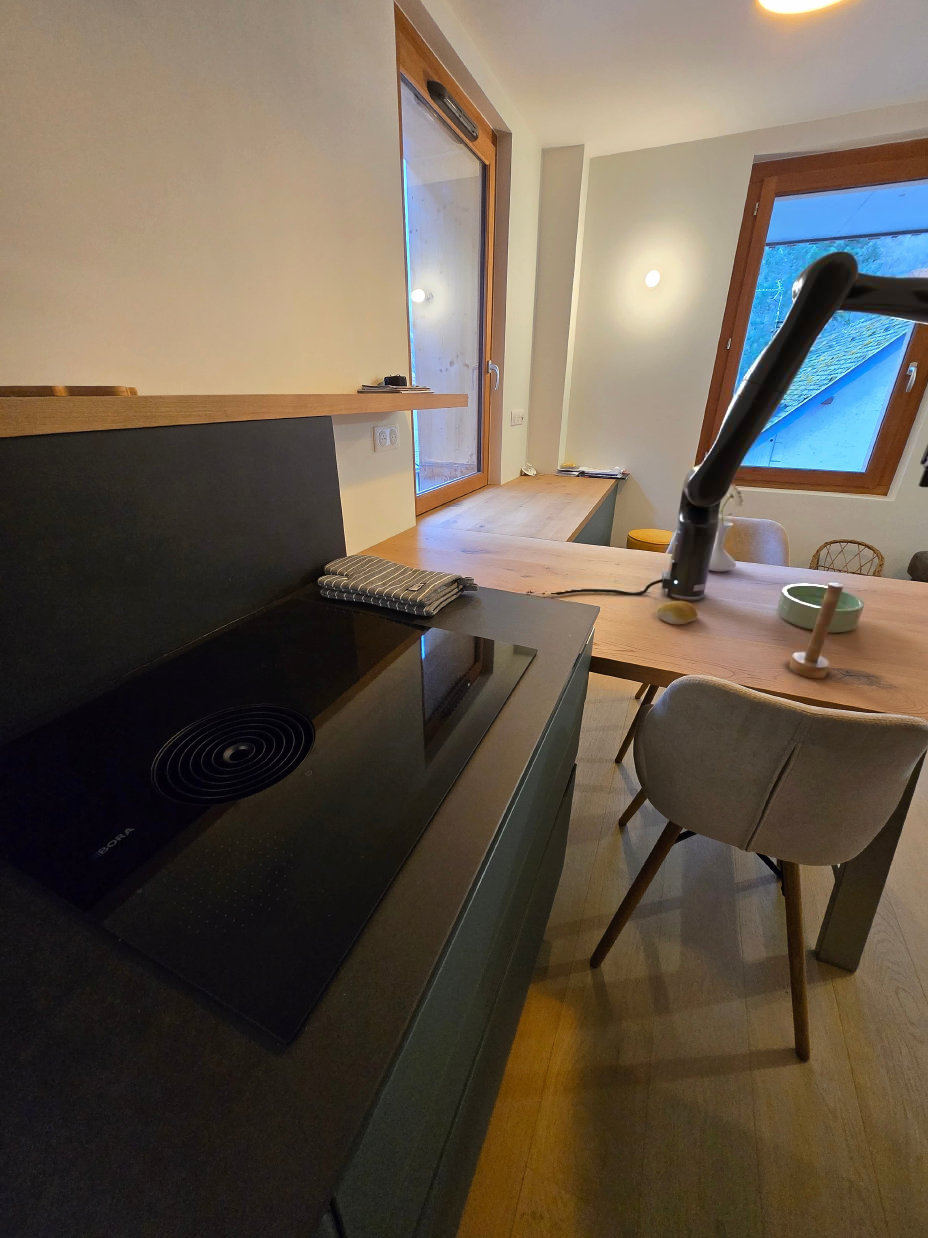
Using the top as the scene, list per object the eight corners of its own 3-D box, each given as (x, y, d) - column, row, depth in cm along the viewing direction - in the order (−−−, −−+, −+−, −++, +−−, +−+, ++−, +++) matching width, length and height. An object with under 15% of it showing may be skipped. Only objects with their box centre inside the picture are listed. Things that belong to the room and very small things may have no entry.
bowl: (785, 630, 112) (792, 605, 109) (769, 603, 125) (775, 581, 122) (866, 639, 107) (876, 614, 105) (841, 610, 120) (849, 587, 118)
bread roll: (702, 619, 117) (705, 603, 116) (679, 628, 113) (682, 612, 111) (672, 607, 124) (675, 592, 122) (649, 616, 119) (651, 600, 118)
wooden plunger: (793, 675, 94) (821, 589, 87) (786, 660, 100) (811, 577, 92) (830, 680, 93) (862, 592, 85) (820, 665, 98) (849, 580, 90)
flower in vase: (737, 576, 142) (758, 488, 131) (694, 572, 146) (711, 486, 135) (731, 562, 153) (750, 480, 142) (692, 558, 157) (707, 478, 146)
